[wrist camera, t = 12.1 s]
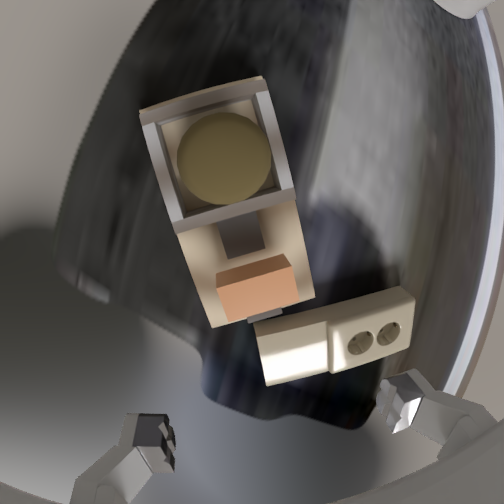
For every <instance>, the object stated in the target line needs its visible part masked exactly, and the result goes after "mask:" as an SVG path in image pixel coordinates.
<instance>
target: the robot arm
mask: <svg viewBox="0 0 504 504" xmlns="http://www.w3.org/2000/svg"><path fill="white" fill-rule="evenodd" d="M434 1H435V2H436V3H437V4H438V5H440V6H441V7H442V8H444V9H445V10H446V11H448V12H450V13H451V14H453V15H455V16H457V17H460V18H463V19H470V18H473V17H474V16H475V15H476V14H477V13H478V12H479V11H480V10H482V9H483V8H484V7H486V6H487V5H489V4H491V3H493V2H494V1H496V0H434ZM380 387H381V389H382V390H381V391H380V392H379V393H378V395H377V399H376V401H377V407H378V410H379V412H380V414H381V415H383V416H385V417H387V419H386V423H387V425H388V427H389V428H390V430H391V431H392V433H394V432H397V431H400V430H403V429H406V428H408V427H410V428H412V429H413V430H415V431H417V432H419V433H420V434H422V435H424V436H426V437H428V438H430V439H431V440H433V441H435V442H437V443H438V444H440V445H442V446H443V447H442V449H441V450H440V452H439V453H438V455H437V458H438V459H439V460H437V461H436V462H434V463H432V464H430V465H428V466H426V467H424V468H422V469H420V470H418V471H416V472H413V473H411V474H409V475H407V476H405V477H402V478H400V479H398V480H395V481H393V482H391V483H388V484H386V485H383V486H381V487H378V488H375V489H372V490H370V491H367V492H364V493H361V494H358V495H355V496H352V497H349V498H346V499H343V500H339V501H335V502H332V503H329V504H504V419H502V420H501V421H499V422H497V421H496V420H495V419H494V418H493V416H492V415H491V414H490V413H489V412H488V411H487V410H486V409H485V408H484V406H482V405H480V404H477V403H474V402H471V401H468V400H465V399H462V398H459V397H456V396H453V395H450V394H448V393H445V392H442V391H439V390H438V391H435V390H434V388H433V387H432V386H431V385H430V384H429V383H428V382H427V380H426V379H425V378H424V377H423V376H422V375H421V374H420V372H419V371H418V370H417V369H412V370H409V371H406V372H402V373H400V374H397V375H394V376H391V377H388V378H384V379H383V380H382V381H381V384H380ZM175 450H176V441H175V434H174V430H173V428H172V427H171V426H170V425H169V418H168V416H167V414H143V413H141V414H137V413H127V414H126V416H125V419H124V423H123V427H122V431H121V435H120V439H119V444H118V446H114V447H112V448H111V449H110V450H109V451H108V452H107V453H106V454H104V455H103V456H102V457H101V458H100V459H99V460H98V461H96V462H95V463H94V464H93V465H92V466H91V467H89V468H88V469H87V470H86V471H85V472H84V473H83V474H81V476H79V477H78V478H77V479H76V481H75V484H74V488H73V492H72V496H71V500H70V504H129V503H130V502H131V501H132V500H133V498H134V497H135V496H136V495H137V493H138V492H139V491H140V490H141V488H142V487H143V486H144V484H145V483H146V482H147V481H148V479H149V478H150V477H151V475H152V473H174V470H175V458H174V456H173V452H174V451H175ZM0 504H61V503H57V502H54V501H51V500H47V499H44V498H41V497H38V496H35V495H32V494H29V493H27V492H24V491H22V490H19V489H17V488H14V487H12V486H9V485H7V484H5V483H2V482H0Z"/></svg>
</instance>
